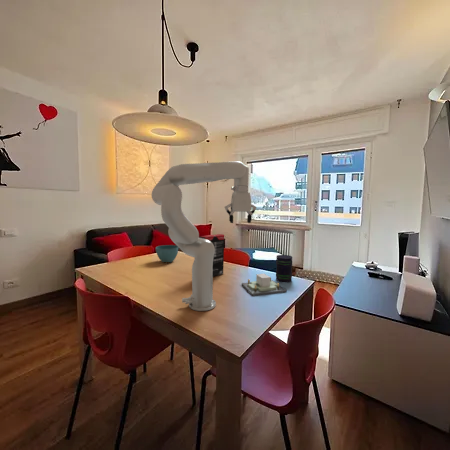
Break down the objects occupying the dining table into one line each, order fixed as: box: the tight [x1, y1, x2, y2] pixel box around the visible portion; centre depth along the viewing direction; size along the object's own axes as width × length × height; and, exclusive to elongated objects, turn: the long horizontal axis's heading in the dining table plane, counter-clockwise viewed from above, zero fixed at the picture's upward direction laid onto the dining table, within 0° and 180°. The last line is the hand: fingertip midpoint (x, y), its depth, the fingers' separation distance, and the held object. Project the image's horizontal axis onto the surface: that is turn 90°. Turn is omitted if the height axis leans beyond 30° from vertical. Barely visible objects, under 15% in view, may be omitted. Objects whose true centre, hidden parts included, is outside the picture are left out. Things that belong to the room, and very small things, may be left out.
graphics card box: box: [199, 233, 225, 277], centre depth 150 cm, size 17×7×27 cm, turn 134°
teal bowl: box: [155, 244, 180, 263], centre depth 186 cm, size 18×18×12 cm
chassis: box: [241, 276, 287, 297], centre depth 129 cm, size 20×16×4 cm
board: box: [248, 273, 277, 291], centre depth 129 cm, size 16×12×6 cm
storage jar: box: [275, 254, 293, 283], centre depth 143 cm, size 10×10×15 cm
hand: (240, 222), depth 119 cm, fingers open, 9 cm apart
